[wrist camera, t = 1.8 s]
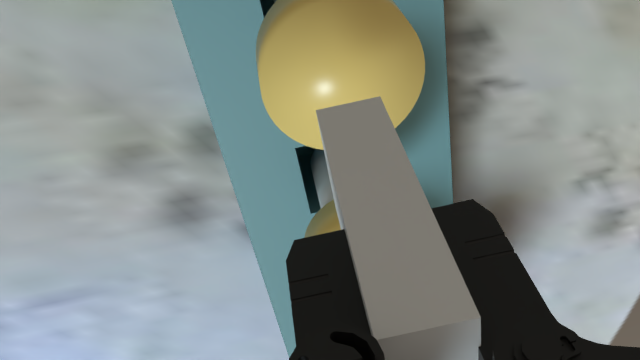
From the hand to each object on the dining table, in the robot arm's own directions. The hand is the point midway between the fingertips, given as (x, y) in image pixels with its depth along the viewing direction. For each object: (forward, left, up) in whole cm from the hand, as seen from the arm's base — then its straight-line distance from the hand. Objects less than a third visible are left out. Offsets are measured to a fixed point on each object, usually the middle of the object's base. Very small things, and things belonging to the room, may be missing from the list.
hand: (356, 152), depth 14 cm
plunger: (0, 0, -11) cm, 11 cm away
